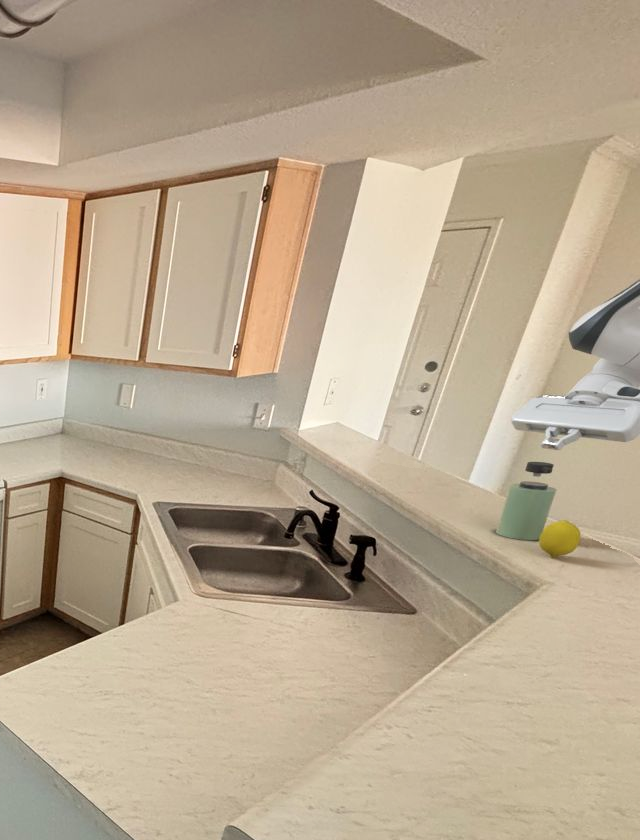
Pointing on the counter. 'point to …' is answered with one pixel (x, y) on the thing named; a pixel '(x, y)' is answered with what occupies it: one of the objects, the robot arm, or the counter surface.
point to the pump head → (539, 468)
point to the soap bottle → (526, 510)
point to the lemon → (559, 538)
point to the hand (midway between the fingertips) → (549, 447)
